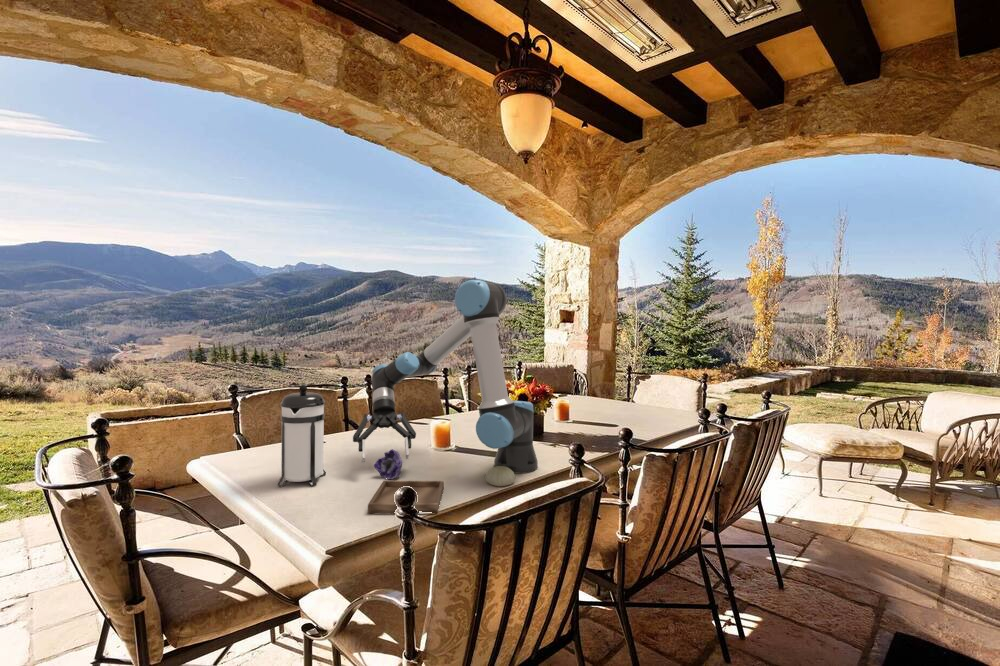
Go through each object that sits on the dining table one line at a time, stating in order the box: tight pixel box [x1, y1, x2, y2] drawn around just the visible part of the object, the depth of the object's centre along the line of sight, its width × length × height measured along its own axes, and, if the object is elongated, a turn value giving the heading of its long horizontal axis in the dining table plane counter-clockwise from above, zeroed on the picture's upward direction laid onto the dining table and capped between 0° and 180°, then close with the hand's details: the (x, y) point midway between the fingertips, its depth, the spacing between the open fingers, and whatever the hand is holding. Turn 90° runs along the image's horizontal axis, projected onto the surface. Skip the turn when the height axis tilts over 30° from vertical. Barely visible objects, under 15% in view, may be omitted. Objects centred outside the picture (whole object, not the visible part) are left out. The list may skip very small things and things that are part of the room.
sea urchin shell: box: [484, 466, 516, 487], centre depth 143 cm, size 9×8×8 cm
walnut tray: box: [367, 480, 445, 515], centre depth 128 cm, size 18×18×2 cm
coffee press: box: [277, 384, 327, 488], centre depth 143 cm, size 17×16×30 cm
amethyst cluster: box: [373, 448, 404, 480], centre depth 149 cm, size 9×9×10 cm
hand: (385, 458), depth 146 cm, fingers open, 13 cm apart
